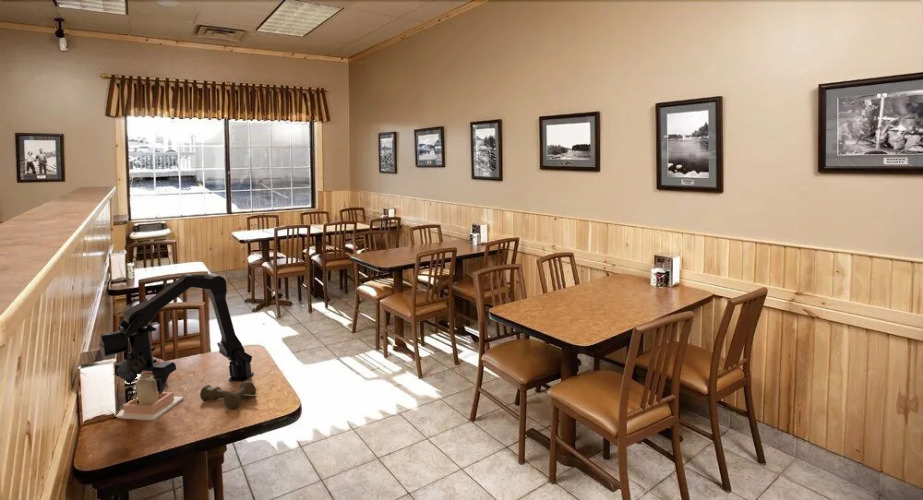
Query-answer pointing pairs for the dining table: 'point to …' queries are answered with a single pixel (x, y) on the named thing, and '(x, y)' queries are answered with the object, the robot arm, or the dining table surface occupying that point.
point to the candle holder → (149, 407)
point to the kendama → (229, 394)
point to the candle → (146, 390)
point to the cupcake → (151, 371)
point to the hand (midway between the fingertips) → (147, 392)
